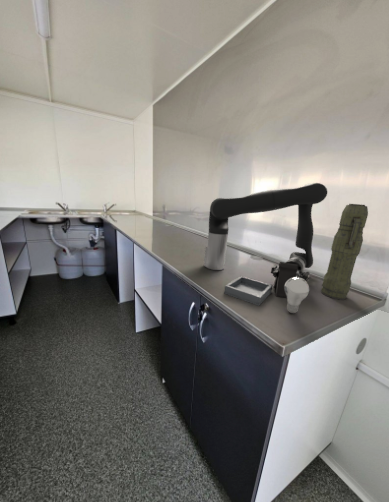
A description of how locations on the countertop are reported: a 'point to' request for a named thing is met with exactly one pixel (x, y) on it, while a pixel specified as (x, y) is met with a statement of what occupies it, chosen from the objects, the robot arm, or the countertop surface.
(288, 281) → the light bulb
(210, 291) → the countertop surface
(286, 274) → the door stopper
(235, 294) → the tray
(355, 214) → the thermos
